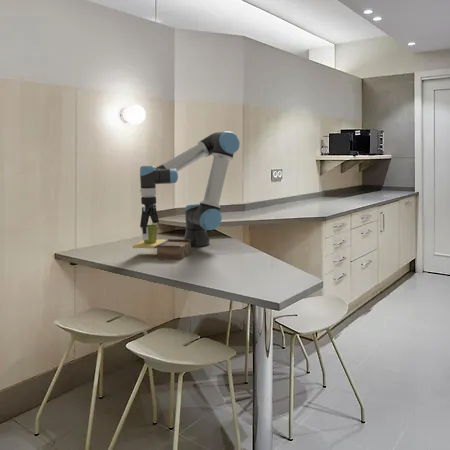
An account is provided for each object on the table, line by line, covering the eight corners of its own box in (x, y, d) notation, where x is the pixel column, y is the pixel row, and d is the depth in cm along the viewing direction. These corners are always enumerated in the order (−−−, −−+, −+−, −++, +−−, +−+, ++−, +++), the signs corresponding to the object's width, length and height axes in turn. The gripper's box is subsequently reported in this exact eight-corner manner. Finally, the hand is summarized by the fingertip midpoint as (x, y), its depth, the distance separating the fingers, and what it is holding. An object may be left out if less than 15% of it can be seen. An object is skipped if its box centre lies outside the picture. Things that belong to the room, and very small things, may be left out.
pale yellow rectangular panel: (156, 246, 246) (132, 245, 249) (156, 248, 247) (132, 248, 249) (168, 239, 264) (145, 239, 267) (168, 241, 264) (145, 241, 267)
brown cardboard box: (180, 259, 245) (180, 245, 244) (157, 259, 248) (156, 245, 246) (190, 252, 262) (190, 239, 261) (168, 251, 265) (168, 238, 264)
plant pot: (150, 240, 263) (150, 224, 262) (163, 242, 257) (162, 225, 256) (137, 243, 256) (136, 226, 255) (149, 244, 250) (148, 227, 249)
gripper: (150, 194, 266) (151, 233, 269) (132, 198, 242) (134, 241, 245) (163, 194, 265) (165, 233, 268) (146, 198, 240) (148, 242, 244)
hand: (150, 237), depth 256 cm, fingers open, 13 cm apart
